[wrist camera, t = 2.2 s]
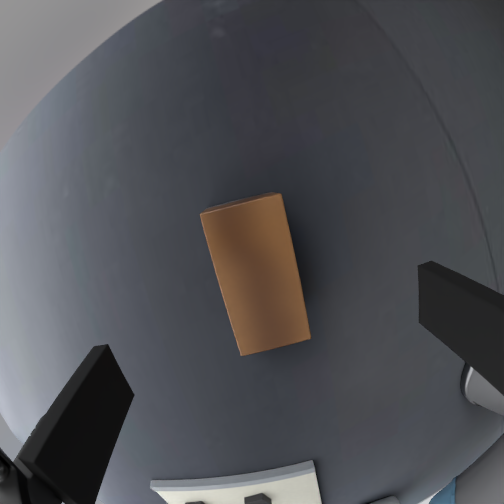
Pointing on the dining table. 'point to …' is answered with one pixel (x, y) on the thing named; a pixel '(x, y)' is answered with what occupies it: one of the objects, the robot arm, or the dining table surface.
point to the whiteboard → (246, 487)
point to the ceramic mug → (387, 501)
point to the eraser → (257, 272)
